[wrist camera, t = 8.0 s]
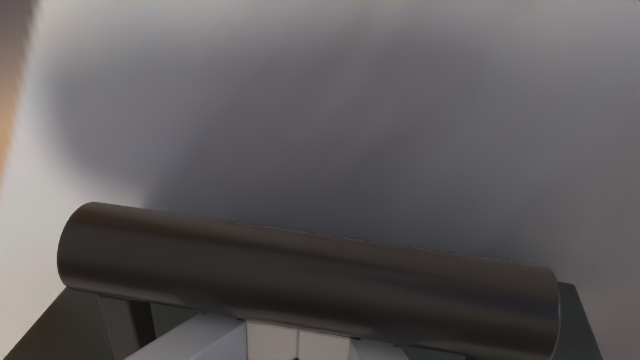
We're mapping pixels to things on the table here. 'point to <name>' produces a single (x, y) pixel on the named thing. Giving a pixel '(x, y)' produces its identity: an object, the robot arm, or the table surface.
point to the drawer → (294, 291)
